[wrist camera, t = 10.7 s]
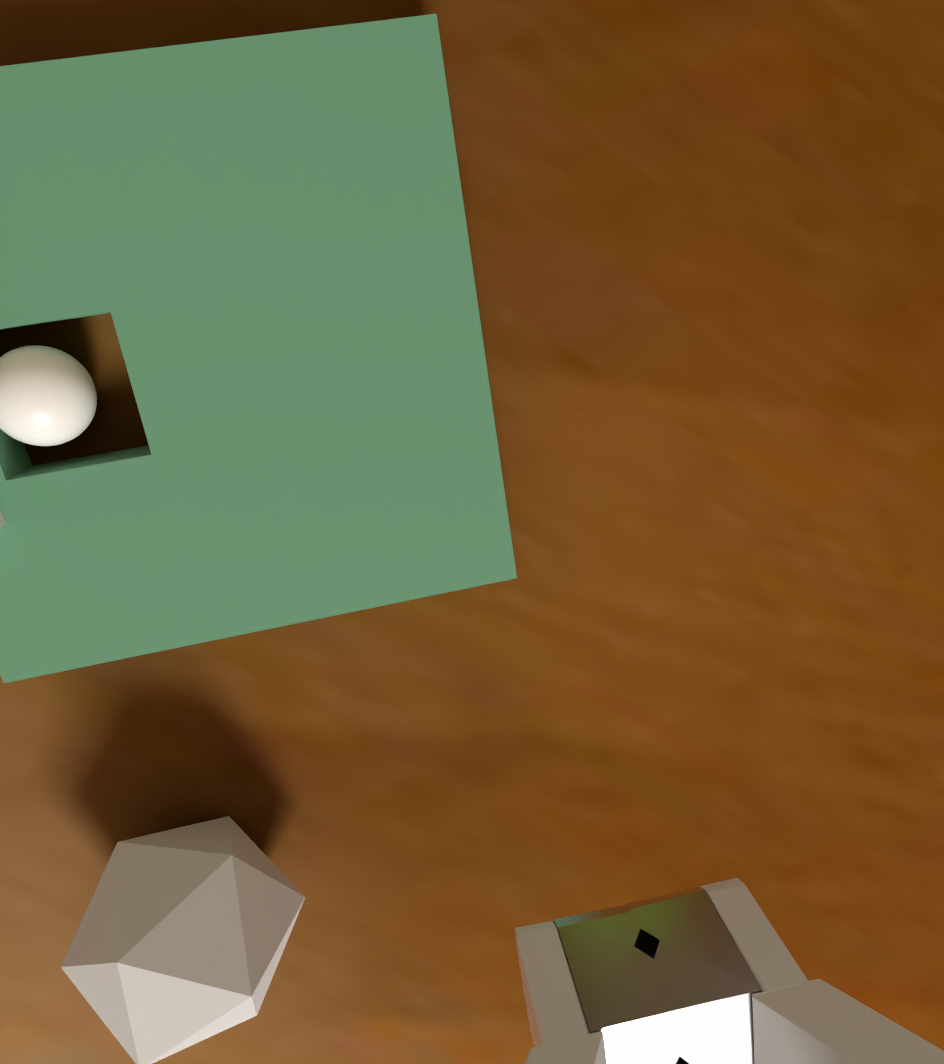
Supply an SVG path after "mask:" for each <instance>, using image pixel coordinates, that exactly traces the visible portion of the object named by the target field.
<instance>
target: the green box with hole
mask: <svg viewBox="0 0 944 1064" xmlns="http://www.w3.org/2000/svg"><path fill="white" fill-rule="evenodd" d="M107 313H111V315H112V319H113V322H114V326H115V329H116V333H117V336H118V340H119V343H120V347H121V350H122V354H123V357H124V361H125V364H126V368H127V371H128V375H129V378H130V382H131V385H132V389H133V392H134V396H135V399H136V403H137V406H138V410H139V413H140V417H141V420H142V424H143V427H144V431H145V434H146V438H147V441H148V445H147V446H142V447H136V448H130V449H125V450H119V451H113V452H108V453H102V454H96V455H90V456H85V457H79V458H73V459H68V460H62V461H56V462H51V463H45V464H39V465H34V466H32V464H31V461H30V458H29V455H28V452H27V449H26V446H25V443H23V442H21V441H18V440H16V439H14V438H12V437H11V436H9V435H8V434H6V433H5V432H4V431H2V430H1V429H0V675H1V677H2V680H3V683H7V682H12V681H17V680H22V679H27V678H32V677H37V676H42V675H46V674H51V673H56V672H61V671H66V670H71V669H76V668H81V667H86V666H90V665H95V664H100V663H105V662H110V661H115V660H120V659H125V658H129V657H134V656H139V655H144V654H149V653H154V652H159V651H164V650H168V649H173V648H178V647H183V646H188V645H193V644H198V643H203V642H207V641H212V640H217V639H222V638H227V637H232V636H237V635H242V634H246V633H251V632H256V631H261V630H266V629H271V628H276V627H281V626H286V625H290V624H295V623H300V622H305V621H310V620H315V619H320V618H325V617H329V616H334V615H339V614H344V613H349V612H354V611H359V610H364V609H368V608H373V607H378V606H383V605H388V604H393V603H398V602H403V601H407V600H412V599H417V598H422V597H427V596H432V595H437V594H442V593H446V592H451V591H456V590H461V589H466V588H471V587H476V586H481V585H486V584H490V583H495V582H500V581H505V580H510V579H515V578H517V575H516V568H515V561H514V554H513V547H512V540H511V533H510V526H509V519H508V512H507V505H506V498H505V491H504V484H503V477H502V470H501V463H500V456H499V449H498V442H497V435H496V428H495V421H494V414H493V407H492V400H491V393H490V386H489V379H488V372H487V365H486V358H485V351H484V344H483V337H482V330H481V322H480V315H479V308H478V301H477V294H476V287H475V280H474V273H473V266H472V259H471V252H470V245H469V238H468V231H467V224H466V217H465V210H464V203H463V196H462V189H461V182H460V175H459V168H458V161H457V154H456V147H455V140H454V133H453V126H452V119H451V112H450V105H449V98H448V91H447V84H446V77H445V70H444V63H443V56H442V49H441V42H440V35H439V28H438V21H437V14H430V15H421V16H413V17H405V18H396V19H388V20H380V21H372V22H363V23H355V24H347V25H338V26H330V27H322V28H314V29H305V30H297V31H289V32H280V33H272V34H264V35H255V36H247V37H239V38H231V39H222V40H214V41H206V42H197V43H189V44H181V45H173V46H164V47H156V48H148V49H139V50H131V51H123V52H114V53H106V54H98V55H90V56H81V57H73V58H65V59H56V60H48V61H40V62H32V63H23V64H15V65H7V66H0V330H5V329H11V328H17V327H24V326H30V325H37V324H43V323H49V322H56V321H62V320H68V319H75V318H81V317H88V316H94V315H100V314H107Z"/></svg>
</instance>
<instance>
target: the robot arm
mask: <svg viewBox="0 0 944 1064" xmlns="http://www.w3.org/2000/svg"><path fill="white" fill-rule="evenodd" d="M515 939H516V945H517V952H518V958H519V964H520V971H521V977H522V983H523V990H524V996H525V1001H526V1007H527V1012H528V1018H529V1023H530V1029H531V1034H532V1039H533V1044H534V1047H533V1048H530V1051H529V1054H528V1057H527V1059H526V1062H525V1064H944V1051H943V1050H941V1049H940V1048H938V1047H936V1046H934V1045H933V1044H931V1043H929V1042H928V1041H926V1040H924V1039H922V1038H921V1037H919V1036H917V1035H916V1034H914V1033H912V1032H910V1031H909V1030H907V1029H905V1028H904V1027H902V1026H900V1025H898V1024H897V1023H895V1022H893V1021H892V1020H890V1019H888V1018H886V1017H885V1016H883V1015H881V1014H880V1013H878V1012H876V1011H874V1010H873V1009H871V1008H869V1007H868V1006H866V1005H864V1004H862V1003H861V1002H859V1001H857V1000H856V999H854V998H852V997H851V996H849V995H847V994H845V993H844V992H842V991H840V990H839V989H837V988H835V987H833V986H832V985H830V984H828V983H827V982H825V981H823V980H821V979H815V980H810V981H808V980H807V979H806V977H805V975H804V974H803V972H802V971H801V969H800V968H799V966H798V965H797V963H796V962H795V960H794V959H793V957H792V956H791V954H790V953H789V951H788V949H787V948H786V946H785V945H784V943H783V942H782V940H781V939H780V937H779V936H778V934H777V933H776V931H775V930H774V928H773V926H772V925H771V923H770V922H769V920H768V919H767V917H766V916H765V914H764V913H763V911H762V910H761V908H760V907H759V905H758V904H757V902H756V900H755V899H754V897H753V896H752V894H751V893H750V891H749V890H748V888H747V887H746V885H745V884H744V882H742V881H741V880H739V879H738V878H734V879H730V880H726V881H721V882H717V883H713V884H709V885H705V886H701V887H700V888H697V887H696V888H692V889H688V890H683V891H679V892H675V893H671V894H667V895H662V896H658V897H654V898H650V899H646V900H642V901H637V902H633V903H629V904H626V905H624V906H619V907H614V908H609V909H604V910H599V911H594V912H588V913H583V914H578V915H573V916H568V917H563V918H558V919H554V922H553V921H548V922H543V923H538V924H533V925H528V926H522V927H517V928H515Z"/></svg>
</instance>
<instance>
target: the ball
mask: <svg viewBox="0 0 944 1064" xmlns="http://www.w3.org/2000/svg"><path fill="white" fill-rule="evenodd" d="M96 406H97V393H96V389H95V385H94V382H93V380H92V378H91V376H90V375H89V373H88V371H87V370H86V369H85V368H84V366H83V365H82V364H81V363H80V362H78V361H77V360H76V359H75V358H73V357H72V356H71V355H69V354H67V353H65V352H63V351H61V350H58V349H56V348H52V347H48V346H39V345H31V346H23V347H19V348H16V349H14V350H11V351H9V352H7V353H5V354H4V355H2V356H1V357H0V429H1V430H2V431H4V432H5V433H6V434H8V435H9V436H11V437H12V438H14V439H16V440H18V441H21V442H23V443H26V444H30V445H36V446H54V445H59V444H63V443H65V442H68V441H70V440H72V439H74V438H76V437H77V436H79V435H80V434H81V433H82V432H83V431H84V430H85V429H86V428H87V427H88V426H89V424H90V423H91V421H92V419H93V417H94V414H95V411H96Z"/></svg>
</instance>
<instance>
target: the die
mask: <svg viewBox="0 0 944 1064" xmlns="http://www.w3.org/2000/svg"><path fill="white" fill-rule="evenodd" d="M304 899H305V896H304V895H303V894H302V893H301V892H300V891H299V890H298V889H297V888H296V887H295V886H294V885H293V884H292V883H291V881H290V880H289V879H288V878H287V877H286V876H285V875H284V874H283V873H282V872H281V871H280V870H279V869H278V868H277V867H276V866H275V864H274V863H273V862H272V861H271V860H270V859H269V858H268V857H267V856H266V855H265V854H264V853H263V852H262V851H261V850H260V849H259V847H258V846H257V845H256V844H255V843H254V842H253V841H252V840H251V839H250V838H249V837H248V836H247V835H246V834H245V833H244V832H243V830H242V829H241V828H240V827H239V826H238V825H237V824H236V823H235V822H234V821H233V820H232V819H231V818H230V817H229V816H227V817H223V818H218V819H214V820H210V821H205V822H201V823H197V824H193V825H188V826H184V827H180V828H175V829H171V830H167V831H162V832H158V833H154V834H149V835H145V836H141V837H136V838H132V839H128V840H123V841H119V842H117V844H116V846H115V849H114V851H113V853H112V855H111V857H110V860H109V862H108V864H107V866H106V868H105V871H104V873H103V875H102V877H101V879H100V882H99V884H98V886H97V888H96V890H95V893H94V895H93V897H92V899H91V901H90V904H89V906H88V908H87V910H86V912H85V915H84V917H83V919H82V921H81V923H80V926H79V928H78V930H77V932H76V934H75V937H74V939H73V941H72V943H71V945H70V948H69V950H68V952H67V954H66V956H65V959H64V961H63V963H62V965H61V968H62V970H63V971H64V972H65V973H66V975H67V976H68V977H69V978H70V980H71V981H72V982H73V984H74V985H75V986H76V987H77V989H78V990H79V991H80V993H81V994H82V995H83V996H84V998H85V999H86V1000H87V1002H88V1003H89V1004H90V1005H91V1007H92V1008H93V1009H94V1010H95V1012H96V1013H97V1014H98V1016H99V1017H100V1018H101V1019H102V1021H103V1022H104V1023H105V1025H106V1026H107V1027H108V1028H109V1030H110V1031H111V1032H112V1033H113V1035H114V1036H115V1037H116V1039H117V1040H118V1041H119V1042H120V1044H121V1045H122V1046H123V1048H124V1049H125V1050H126V1051H127V1053H128V1054H129V1055H130V1057H131V1058H132V1059H133V1060H134V1062H135V1063H136V1064H152V1063H154V1062H156V1061H158V1060H161V1059H163V1058H165V1057H167V1056H169V1055H172V1054H174V1053H176V1052H178V1051H180V1050H182V1049H185V1048H187V1047H189V1046H191V1045H193V1044H195V1043H198V1042H200V1041H202V1040H204V1039H206V1038H209V1037H211V1036H213V1035H215V1034H217V1033H219V1032H222V1031H224V1030H226V1029H228V1028H230V1027H233V1026H235V1025H237V1024H239V1023H241V1022H243V1021H246V1020H248V1019H250V1018H252V1017H254V1016H256V1015H257V1014H258V1011H259V1009H260V1006H261V1004H262V1002H263V999H264V997H265V994H266V992H267V989H268V987H269V985H270V982H271V980H272V977H273V975H274V972H275V970H276V967H277V965H278V963H279V960H280V958H281V955H282V953H283V950H284V948H285V945H286V943H287V941H288V938H289V936H290V933H291V931H292V928H293V926H294V924H295V921H296V919H297V916H298V914H299V911H300V909H301V906H302V904H303V902H304Z"/></svg>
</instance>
